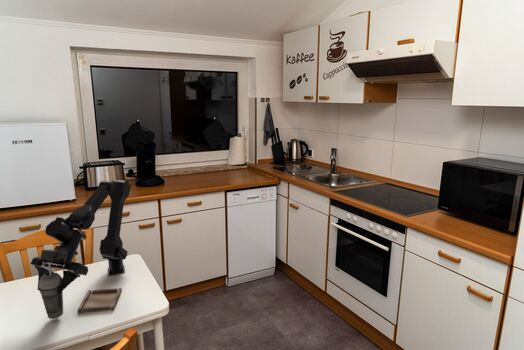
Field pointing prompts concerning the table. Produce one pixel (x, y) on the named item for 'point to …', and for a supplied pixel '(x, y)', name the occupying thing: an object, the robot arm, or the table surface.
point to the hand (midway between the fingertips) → (48, 291)
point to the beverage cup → (51, 294)
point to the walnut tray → (100, 300)
